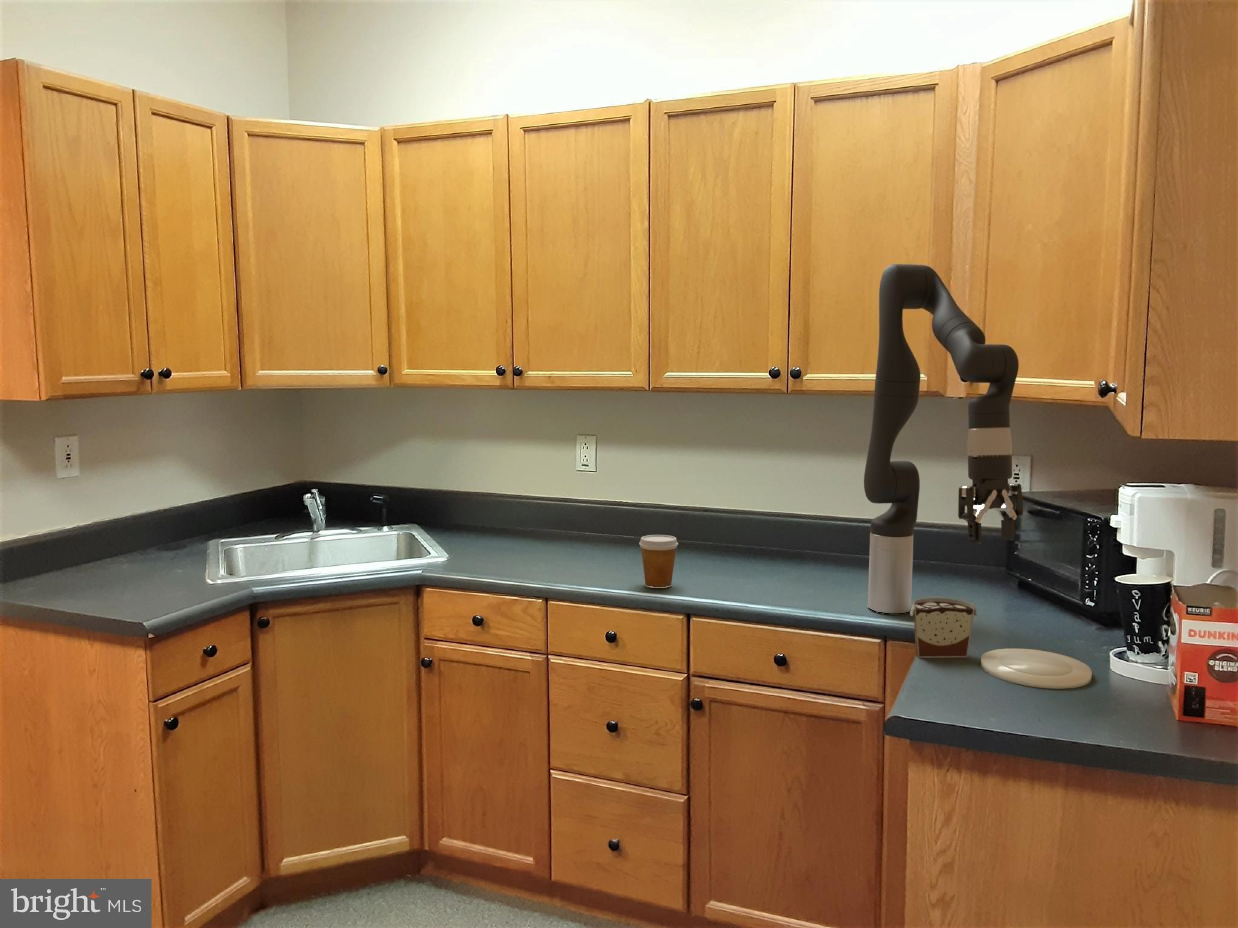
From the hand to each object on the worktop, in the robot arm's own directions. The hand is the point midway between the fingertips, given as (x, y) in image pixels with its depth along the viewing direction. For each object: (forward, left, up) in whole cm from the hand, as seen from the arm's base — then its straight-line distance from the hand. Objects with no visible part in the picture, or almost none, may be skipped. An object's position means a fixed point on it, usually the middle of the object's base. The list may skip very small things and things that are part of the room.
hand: (991, 541), depth 167 cm
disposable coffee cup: (-40, -69, -22) cm, 83 cm away
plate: (+5, +8, -22) cm, 24 cm away
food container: (-2, -8, -22) cm, 24 cm away
